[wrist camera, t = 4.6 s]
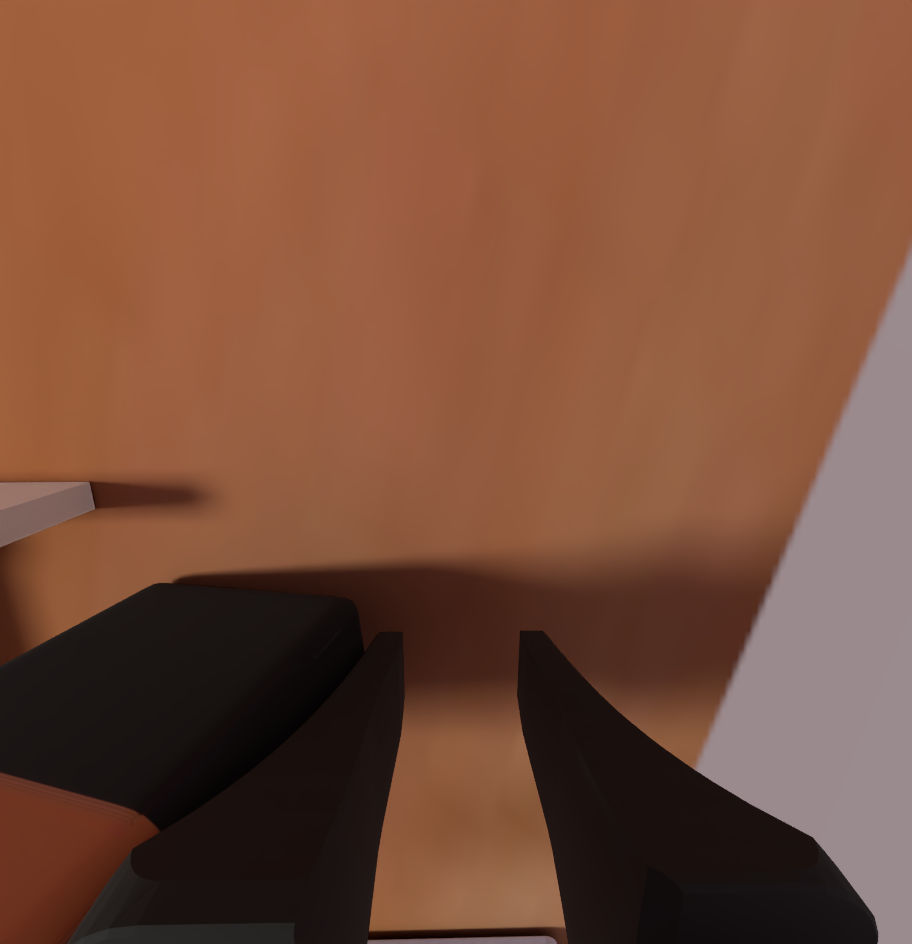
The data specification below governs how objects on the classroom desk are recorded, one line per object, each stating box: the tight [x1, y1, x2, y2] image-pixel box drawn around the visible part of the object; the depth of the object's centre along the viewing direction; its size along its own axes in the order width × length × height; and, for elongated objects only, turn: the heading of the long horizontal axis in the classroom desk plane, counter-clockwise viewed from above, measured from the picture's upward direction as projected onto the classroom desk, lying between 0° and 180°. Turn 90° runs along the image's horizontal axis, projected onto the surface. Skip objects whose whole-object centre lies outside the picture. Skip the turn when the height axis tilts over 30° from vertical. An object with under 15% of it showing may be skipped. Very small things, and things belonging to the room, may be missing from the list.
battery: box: [0, 583, 364, 944], centre depth 8 cm, size 4×7×10 cm, turn 94°
